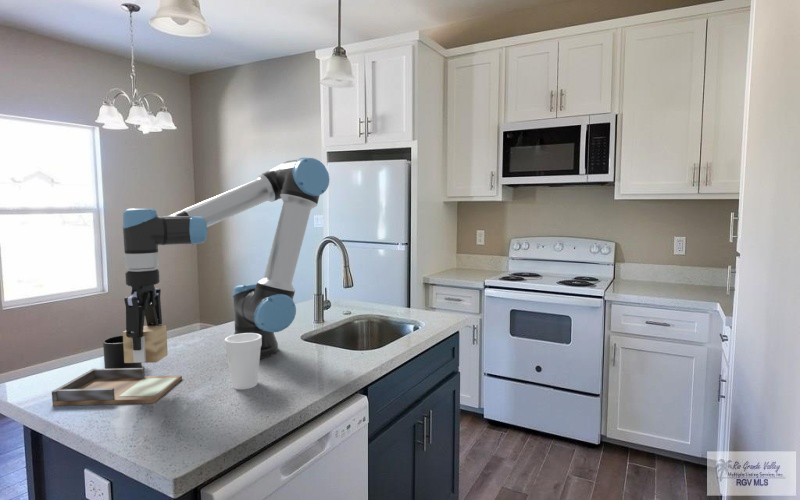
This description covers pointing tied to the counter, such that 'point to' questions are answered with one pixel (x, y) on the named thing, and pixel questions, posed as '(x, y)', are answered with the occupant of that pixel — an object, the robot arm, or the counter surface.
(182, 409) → the counter surface
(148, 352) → the oak block
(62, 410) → the counter surface
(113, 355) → the mug
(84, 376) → the slot board
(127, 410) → the counter surface
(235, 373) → the foam cup
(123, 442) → the counter surface
